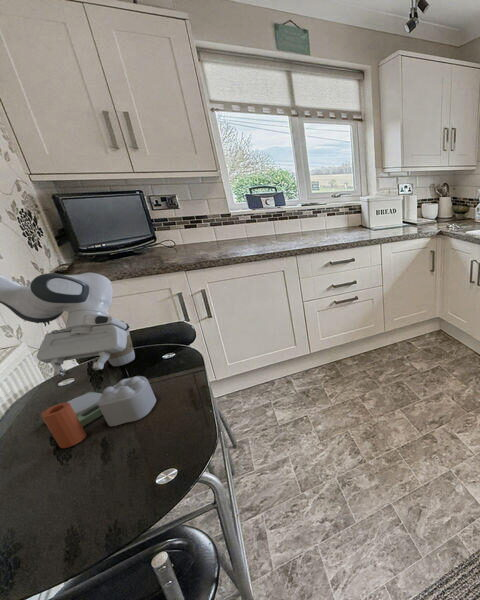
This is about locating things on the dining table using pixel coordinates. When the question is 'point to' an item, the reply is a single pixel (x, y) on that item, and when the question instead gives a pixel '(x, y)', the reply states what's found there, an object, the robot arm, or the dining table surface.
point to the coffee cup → (123, 352)
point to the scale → (86, 407)
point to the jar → (64, 425)
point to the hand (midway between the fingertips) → (78, 372)
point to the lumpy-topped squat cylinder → (127, 401)
